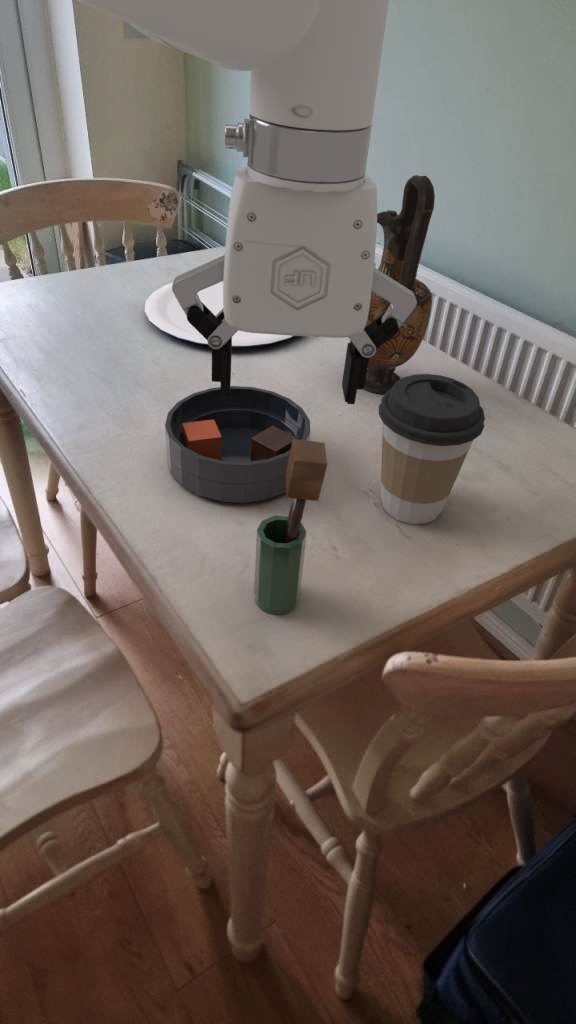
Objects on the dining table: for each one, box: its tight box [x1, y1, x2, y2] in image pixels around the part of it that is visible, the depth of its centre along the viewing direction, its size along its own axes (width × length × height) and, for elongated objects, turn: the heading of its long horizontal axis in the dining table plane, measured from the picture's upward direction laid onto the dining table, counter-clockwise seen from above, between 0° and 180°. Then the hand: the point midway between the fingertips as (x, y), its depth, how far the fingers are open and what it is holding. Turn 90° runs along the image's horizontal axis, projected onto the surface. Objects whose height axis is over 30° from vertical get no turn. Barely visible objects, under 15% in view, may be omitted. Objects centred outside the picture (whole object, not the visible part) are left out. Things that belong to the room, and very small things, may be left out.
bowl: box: [164, 385, 311, 504], centre depth 85 cm, size 17×17×6 cm
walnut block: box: [251, 426, 297, 461], centre depth 85 cm, size 4×4×4 cm
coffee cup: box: [378, 373, 486, 526], centre depth 77 cm, size 11×11×15 cm
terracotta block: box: [182, 419, 222, 461], centre depth 85 cm, size 4×4×4 cm
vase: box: [363, 174, 436, 395], centre depth 95 cm, size 12×12×30 cm
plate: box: [144, 281, 295, 348], centre depth 119 cm, size 29×29×2 cm
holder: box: [253, 515, 307, 616], centre depth 67 cm, size 4×5×9 cm
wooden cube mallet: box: [283, 439, 328, 543], centre depth 64 cm, size 3×3×18 cm
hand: (287, 392), depth 54 cm, fingers open, 9 cm apart
